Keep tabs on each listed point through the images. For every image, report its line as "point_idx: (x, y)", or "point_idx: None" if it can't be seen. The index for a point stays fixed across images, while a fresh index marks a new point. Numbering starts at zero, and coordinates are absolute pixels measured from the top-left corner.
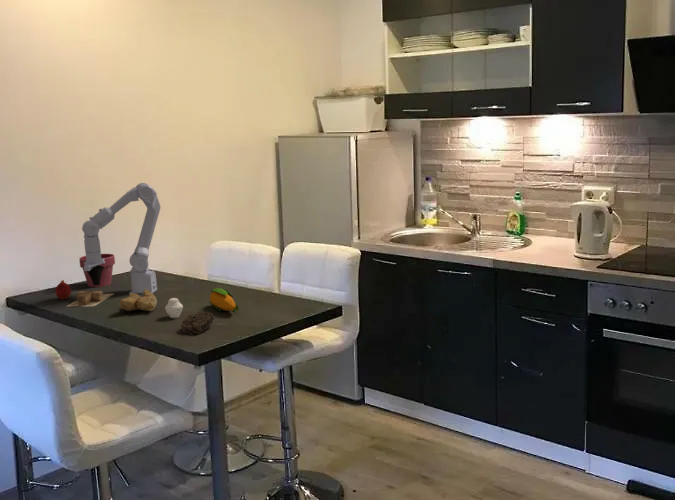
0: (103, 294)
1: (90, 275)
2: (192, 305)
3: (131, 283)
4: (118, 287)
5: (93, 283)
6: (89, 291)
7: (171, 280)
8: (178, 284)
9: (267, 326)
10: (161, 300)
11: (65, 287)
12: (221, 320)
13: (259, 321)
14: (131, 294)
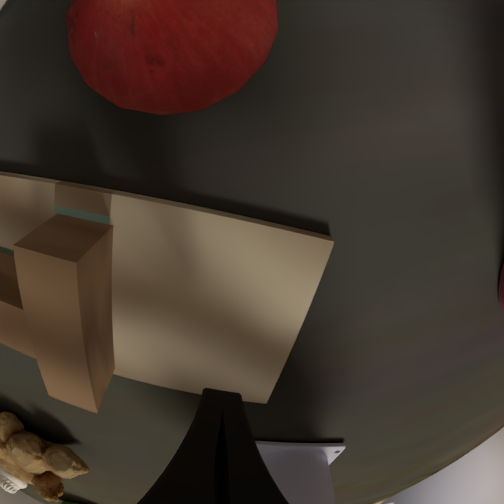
0: (267, 356)
1: (157, 483)
2: (101, 498)
3: (285, 487)
4: (453, 364)
5: (200, 404)
6: (68, 345)
7: (425, 465)
8: (357, 491)
9: (28, 493)
10: (142, 485)
11: (79, 68)
12: (29, 484)
13: (42, 498)
14: (51, 469)
